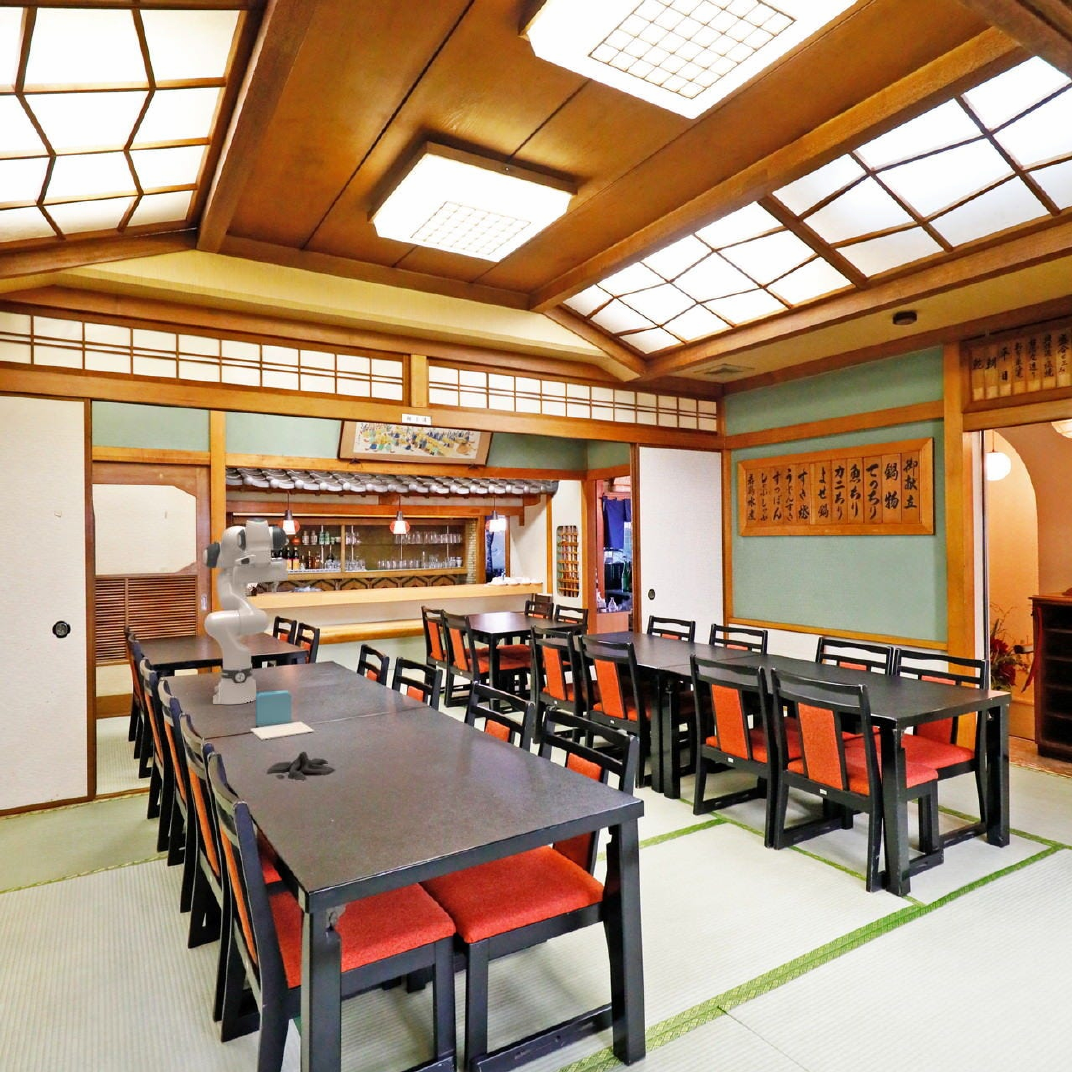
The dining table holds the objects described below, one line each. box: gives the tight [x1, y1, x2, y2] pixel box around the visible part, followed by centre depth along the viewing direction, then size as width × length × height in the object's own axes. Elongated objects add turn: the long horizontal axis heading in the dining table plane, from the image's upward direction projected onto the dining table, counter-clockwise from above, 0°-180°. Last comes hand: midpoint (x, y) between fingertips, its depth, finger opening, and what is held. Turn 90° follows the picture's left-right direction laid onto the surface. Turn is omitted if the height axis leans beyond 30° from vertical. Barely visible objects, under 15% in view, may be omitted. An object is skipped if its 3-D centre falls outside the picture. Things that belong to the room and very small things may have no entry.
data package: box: [254, 689, 292, 728], centre depth 257 cm, size 12×4×12 cm, turn 118°
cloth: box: [265, 751, 336, 782], centre depth 203 cm, size 22×19×6 cm
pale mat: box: [249, 721, 315, 741], centre depth 248 cm, size 16×18×1 cm
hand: (261, 594), depth 273 cm, fingers open, 8 cm apart
